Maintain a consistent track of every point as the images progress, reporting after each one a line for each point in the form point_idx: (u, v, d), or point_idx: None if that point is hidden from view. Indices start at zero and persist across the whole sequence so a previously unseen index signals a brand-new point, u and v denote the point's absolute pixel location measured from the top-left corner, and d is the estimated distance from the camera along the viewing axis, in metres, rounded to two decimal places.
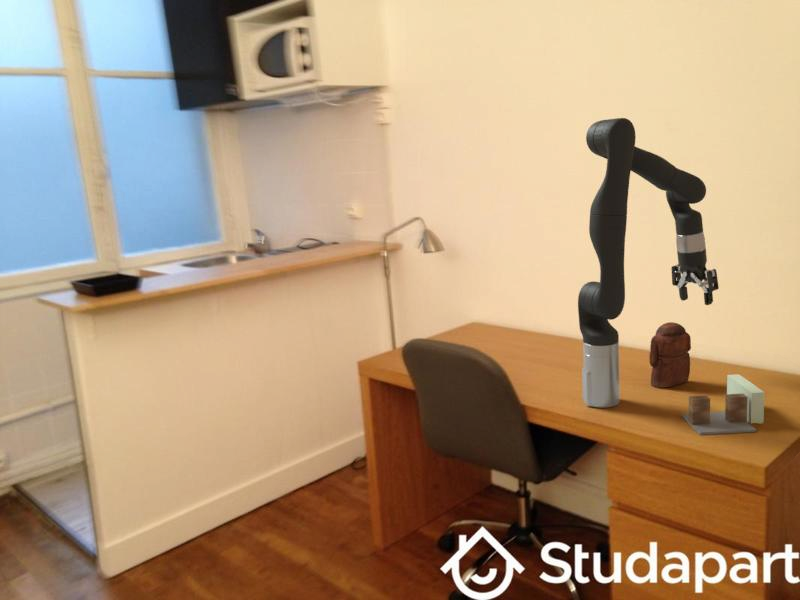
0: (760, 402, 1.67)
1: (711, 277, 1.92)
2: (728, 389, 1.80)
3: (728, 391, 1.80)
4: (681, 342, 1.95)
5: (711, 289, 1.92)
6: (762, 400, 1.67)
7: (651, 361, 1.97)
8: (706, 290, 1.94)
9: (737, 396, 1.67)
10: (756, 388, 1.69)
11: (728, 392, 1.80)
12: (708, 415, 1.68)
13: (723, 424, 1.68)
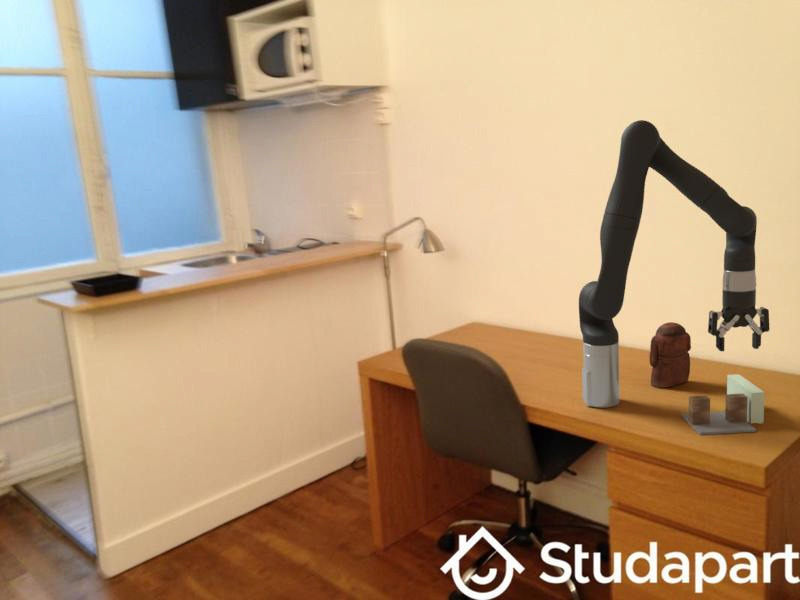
0: (760, 402, 1.67)
1: (709, 318, 1.76)
2: (728, 389, 1.80)
3: (728, 391, 1.80)
4: (681, 342, 1.95)
5: None
6: (762, 400, 1.67)
7: (651, 361, 1.97)
8: None
9: (737, 396, 1.67)
10: (756, 388, 1.69)
11: (728, 392, 1.80)
12: (708, 415, 1.68)
13: (723, 424, 1.68)
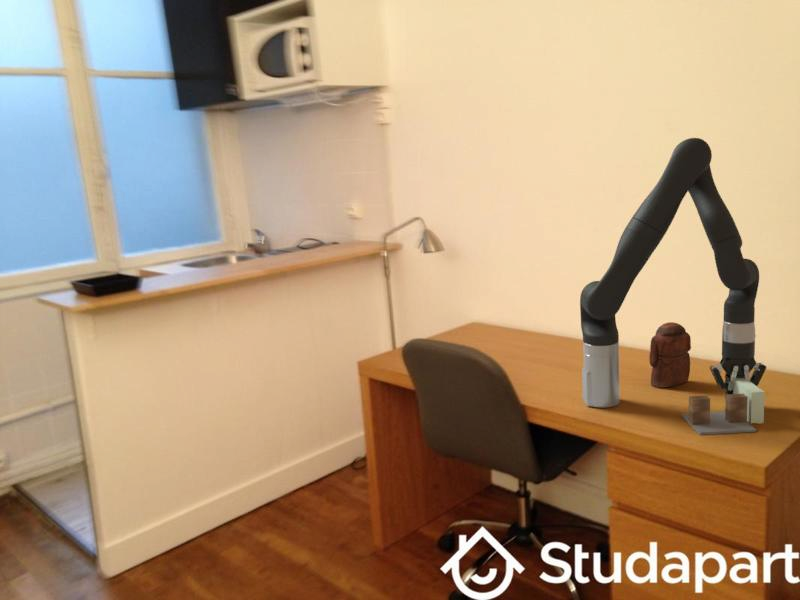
0: (760, 402, 1.67)
1: (712, 373, 1.79)
2: None
3: None
4: (681, 342, 1.95)
5: None
6: (762, 400, 1.67)
7: (651, 361, 1.97)
8: None
9: (737, 396, 1.67)
10: (756, 388, 1.69)
11: None
12: (708, 415, 1.68)
13: (723, 424, 1.68)
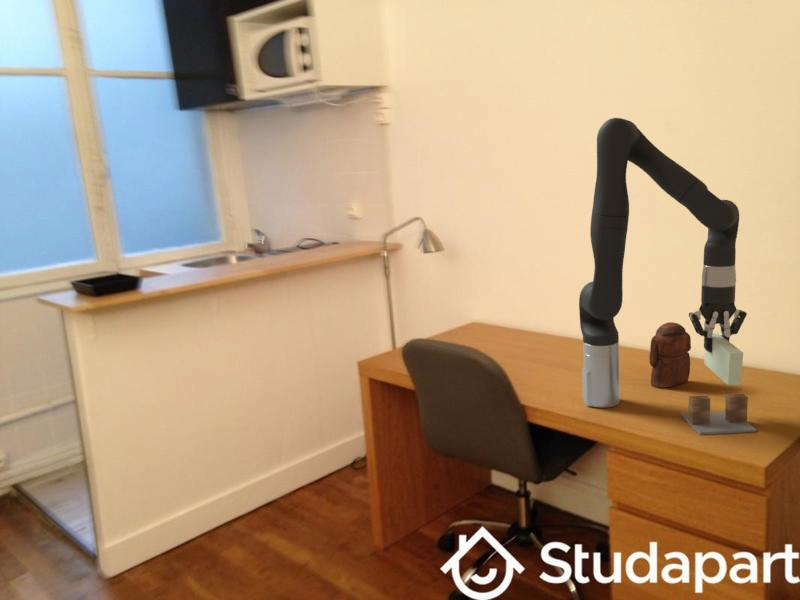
0: (738, 363, 1.62)
1: (691, 320, 1.72)
2: None
3: None
4: (681, 342, 1.95)
5: None
6: (740, 361, 1.61)
7: (651, 361, 1.97)
8: None
9: (737, 396, 1.67)
10: (735, 348, 1.64)
11: (706, 351, 1.75)
12: (708, 415, 1.68)
13: (723, 424, 1.68)
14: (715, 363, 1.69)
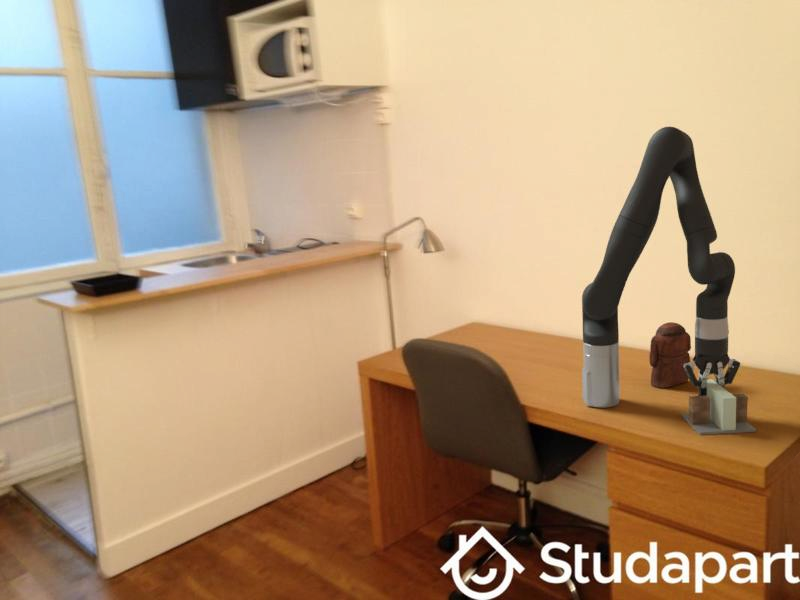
0: (732, 408, 1.63)
1: (685, 370, 1.73)
2: None
3: None
4: (681, 342, 1.95)
5: None
6: (734, 406, 1.63)
7: (651, 361, 1.97)
8: None
9: (737, 396, 1.67)
10: (728, 393, 1.65)
11: None
12: (708, 415, 1.68)
13: None
14: (710, 408, 1.71)
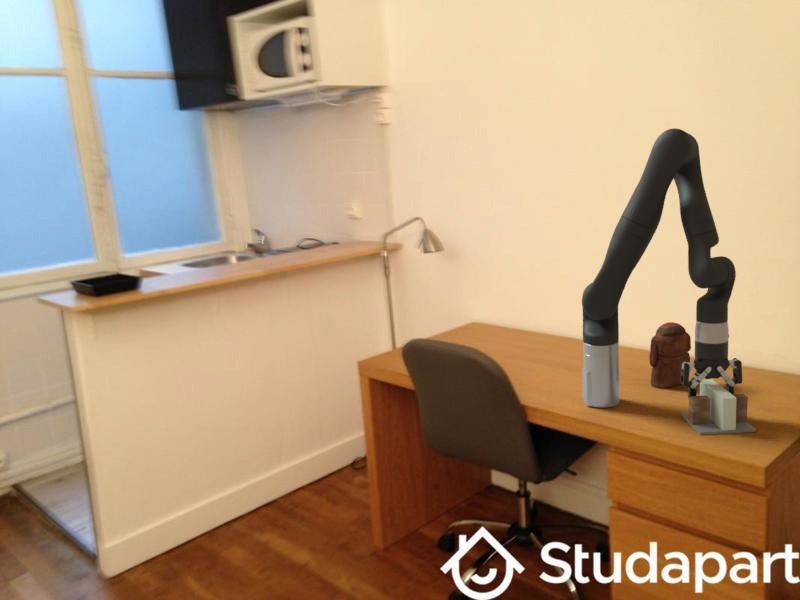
0: (732, 408, 1.63)
1: (681, 368, 1.73)
2: (701, 394, 1.76)
3: None
4: (681, 342, 1.95)
5: None
6: (734, 406, 1.63)
7: (651, 361, 1.97)
8: None
9: (737, 396, 1.67)
10: (728, 393, 1.65)
11: None
12: (708, 415, 1.68)
13: None
14: (710, 408, 1.71)
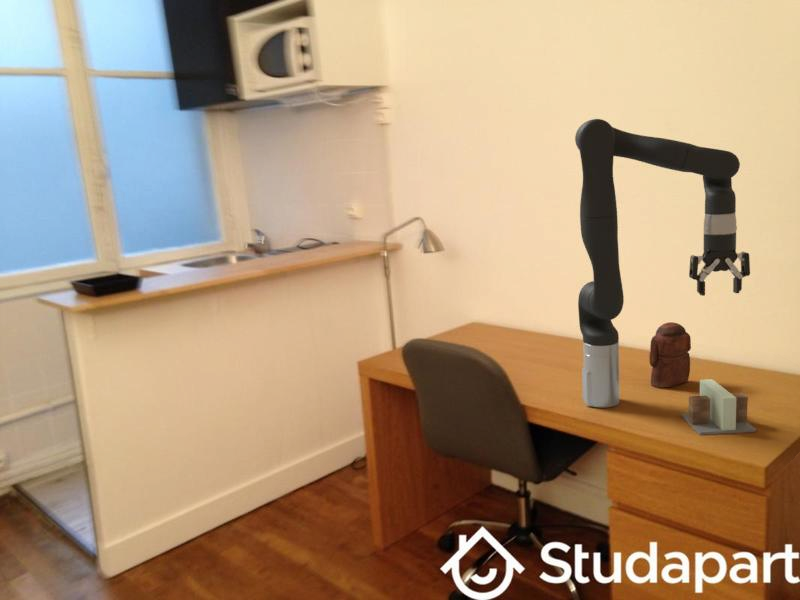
0: (732, 408, 1.63)
1: (690, 262, 1.78)
2: (701, 394, 1.76)
3: None
4: (681, 342, 1.95)
5: None
6: (734, 406, 1.63)
7: (651, 361, 1.97)
8: None
9: (737, 396, 1.67)
10: (728, 393, 1.65)
11: None
12: (708, 415, 1.68)
13: None
14: (710, 408, 1.71)
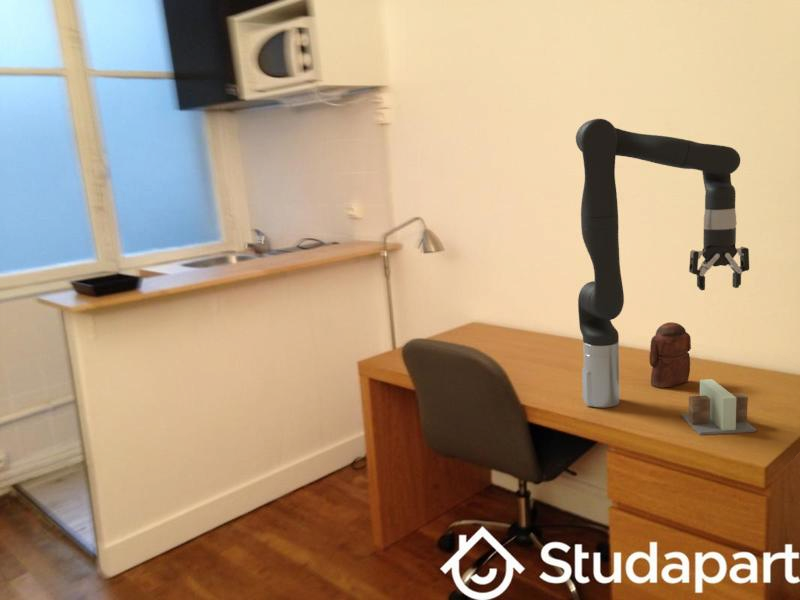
0: (732, 408, 1.63)
1: (690, 257, 1.79)
2: (701, 394, 1.76)
3: None
4: (681, 342, 1.95)
5: None
6: (734, 406, 1.63)
7: (651, 361, 1.97)
8: None
9: (737, 396, 1.67)
10: (728, 393, 1.65)
11: None
12: (708, 415, 1.68)
13: None
14: (710, 408, 1.71)
